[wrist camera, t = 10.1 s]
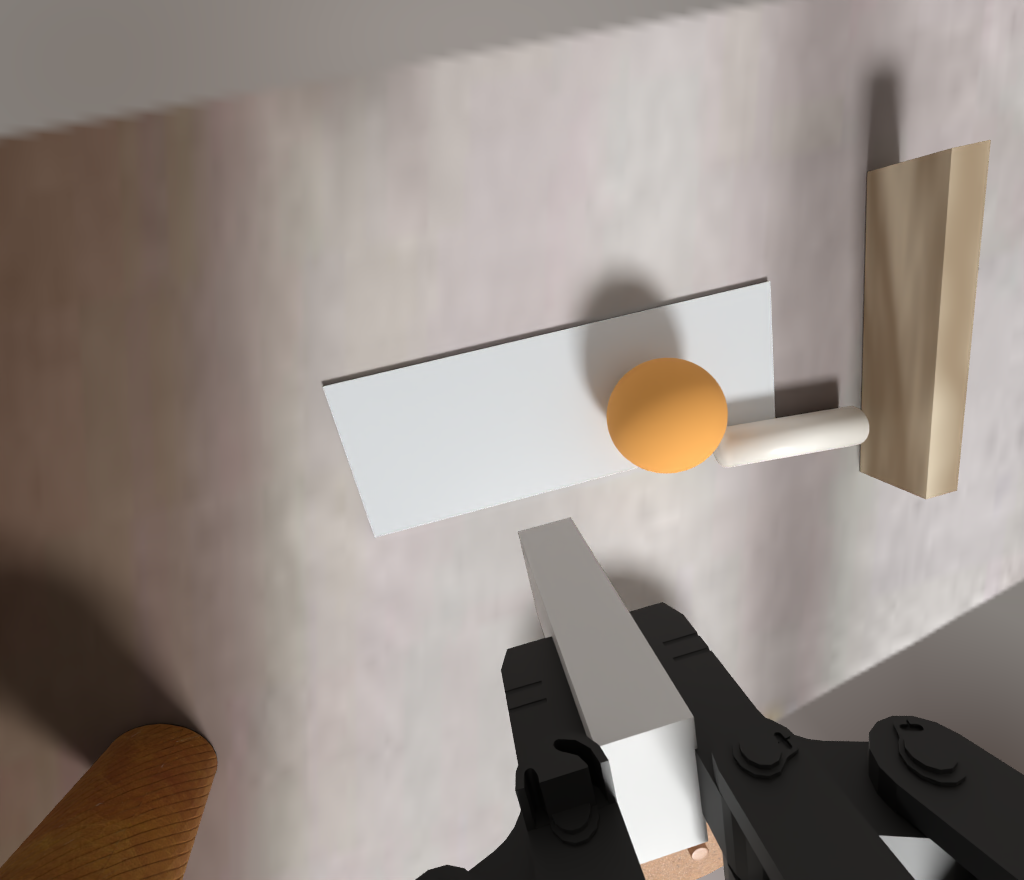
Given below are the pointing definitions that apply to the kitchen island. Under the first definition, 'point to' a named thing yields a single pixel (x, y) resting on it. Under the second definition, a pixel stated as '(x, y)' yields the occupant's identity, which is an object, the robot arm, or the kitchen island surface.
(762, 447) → the pin
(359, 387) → the plate
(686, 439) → the ball
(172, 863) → the disposable coffee cup
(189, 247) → the kitchen island surface
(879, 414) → the backstop
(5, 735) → the kitchen island surface
